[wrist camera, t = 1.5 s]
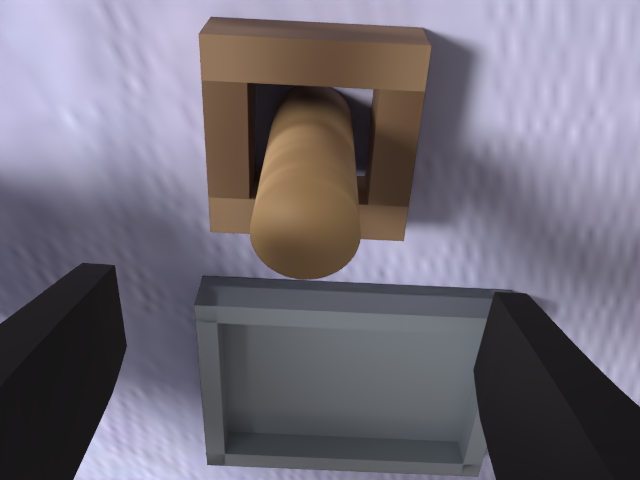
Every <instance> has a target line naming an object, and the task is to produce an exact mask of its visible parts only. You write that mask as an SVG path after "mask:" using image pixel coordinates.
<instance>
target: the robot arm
mask: <svg viewBox="0 0 640 480" xmlns="http://www.w3.org/2000/svg"><path fill="white" fill-rule="evenodd" d="M126 347H127V344H126V337H125V331H124V324H123V317H122V311H121V304H120V297H119V290H118V284H117V277H116V270H115V265H105V264H90V263H82V264H81V265H79V266H78V267H76V268H75V269H73V270H72V271H71V272H69V273H68V274H67V275H65V276H64V277H62V278H61V279H60V280H59V281H57V282H56V283H55V284H53V285H52V286H51V287H49V288H48V289H47V290H45V291H44V292H43V293H41V294H40V295H39V296H37V297H36V298H35V299H33V300H32V301H31V302H29V303H28V304H27V305H25V306H24V307H23V308H21V309H20V310H18V311H17V312H16V313H14V314H13V315H12V316H10V317H9V318H8V319H6V320H5V321H3V322H2V323H1V324H0V480H73V479H74V477H75V475H76V473H77V470H78V468H79V466H80V464H81V462H82V460H83V457H84V455H85V453H86V451H87V449H88V446H89V444H90V442H91V440H92V438H93V436H94V433H95V431H96V429H97V427H98V425H99V422H100V420H101V418H102V416H103V414H104V411H105V409H106V407H107V405H108V402H109V400H110V398H111V396H112V393H113V390H114V387H115V384H116V381H117V378H118V375H119V371H120V368H121V365H122V361H123V358H124V354H125V351H126ZM473 372H474V380H475V388H476V397H477V403H478V410H479V417H480V421H481V425H482V429H483V433H484V437H485V440H486V444H487V448H488V452H489V455H490V459H491V463H492V466H493V470H494V474H495V477H496V480H640V407H639V406H638V405H637V404H636V403H635V402H634V401H632V400H631V399H630V398H629V397H628V396H627V395H626V394H625V393H624V392H623V391H621V390H620V389H619V388H618V387H617V386H616V385H615V384H614V383H613V382H612V381H611V380H610V379H609V378H608V377H607V376H606V375H605V374H604V373H603V372H602V371H601V370H600V369H599V368H598V367H597V366H596V365H595V364H594V363H593V362H592V361H591V360H590V359H589V358H588V357H587V356H586V355H585V354H584V353H583V352H582V351H581V350H580V349H579V348H578V347H577V346H576V345H575V344H574V343H573V342H572V341H571V340H570V339H569V338H568V337H567V336H566V334H565V333H564V332H563V331H562V330H561V329H560V328H559V327H558V326H557V325H556V324H555V323H554V322H553V321H552V320H551V318H550V317H549V316H548V315H547V314H546V313H545V312H544V311H543V310H542V309H541V308H540V307H539V306H538V305H537V304H536V303H535V302H534V300H533V299H532V298H531V297H530V296H529V295H527V294H523V293H508V292H494V296H493V299H492V303H491V307H490V310H489V314H488V318H487V321H486V325H485V329H484V332H483V336H482V340H481V343H480V347H479V351H478V354H477V358H476V362H475V365H474V369H473Z"/></svg>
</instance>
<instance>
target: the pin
mask: <svg viewBox="0 0 640 480" xmlns="http://www.w3.org/2000/svg"><path fill="white" fill-rule="evenodd" d="M360 238H361V228H360V215H359V202H358V189H357V176H356V164H355V151H354V138H353V125H352V115H351V111H350V108H349V106H348V104H347V102H346V101H345V99H344V98H343V97H342V96H341V95H340V94H339V93H338V92H336V91H335V90H333V89H332V88H330V87H323V86H303V85H300V86H297V87H295V88H293V89H291V90H290V91H288V92H287V93H286V94H285V95H284V96H283V97H282V98H281V99H280V101H279V102H278V104H277V106H276V109H275V112H274V117H273V121H272V126H271V131H270V135H269V140H268V145H267V149H266V154H265V159H264V163H263V168H262V173H261V177H260V182H259V187H258V191H257V196H256V201H255V205H254V210H253V215H252V219H251V224H250V239H251V243H252V246H253V248H254V250H255V252H256V254H257V256H258V257H259V258H260V259H261V261H262V262H263V263H264V264H266V265H267V266H268V267H269V268H271V269H272V270H274V271H275V272H277V273H279V274H282V275H284V276H287V277H290V278H295V279H318V278H322V277H326V276H329V275H331V274H333V273H335V272H337V271H339V270H340V269H342V268H343V267H344V266H346V265H347V264H348V263H349V262H350V261H351V259H352V258H353V257H354V255H355V253H356V251H357V249H358V247H359V244H360Z"/></svg>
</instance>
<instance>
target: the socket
mask: <svg viewBox="0 0 640 480" xmlns="http://www.w3.org/2000/svg"><path fill="white" fill-rule="evenodd" d="M199 47H200V63H201V80H202V97H203V114H204V130H205V147H206V164H207V181H208V197H209V214H210V231H211V232H222V233H243V234H250V224H251V219H252V215H253V210H254V205H255V201H256V196H257V191H258V187H259V182H260V177H261V173H262V172H256V146H255V83H263V84H283V85H303V86H323V87H343V88H363V89H374V90H373V100H372V111H371V121H370V132H369V142H368V152H367V163H366V173H365V177H360V176H357V189H358V202H359V215H360V228H361V238H360V239H370V240H392V241H404V236H405V229H406V222H407V215H408V208H409V201H410V194H411V187H412V180H413V173H414V166H415V159H416V152H417V145H418V138H419V131H420V124H421V117H422V110H423V102H424V95H425V88H426V81H427V74H428V67H429V60H430V53H431V44H430V42H429V40H428V38H427V36H426V34H425V32H424V30H423V28H418V27H398V26H378V25H359V24H339V23H320V22H300V21H281V20H261V19H242V18H222V17H210V19H209V20H208V22H207V23H206V24H205V26H204V27H203V29H202V30H201V31H200V33H199Z"/></svg>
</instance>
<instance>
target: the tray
mask: <svg viewBox="0 0 640 480" xmlns="http://www.w3.org/2000/svg"><path fill="white" fill-rule="evenodd" d="M494 292H508V293H512V290H494V289H472V288H451V287H429V286H407V285H386V284H364V283H343V282H321V281H299V280H278V279H256V278H235V277H213V276H203V277H202V280H201V284H200V287H199V290H198V294H197V297H196V300H195V304H194V311H195V323H196V335H197V347H198V359H199V371H200V383H201V395H202V407H203V419H204V431H205V443H206V455H207V465H219V466H243V467H266V468H289V469H313V470H336V471H360V472H383V473H406V474H430V475H453V476H477V477H478V475H479V472H480V468H481V465H482V461H483V458H484V454H485V451H486V448H487V444H486V440H485V437H484V433H483V429H482V425H481V421H480V417H479V410H478V403H477V397H476V388H475V380H474V372H473V369H474V365H475V362H476V358H477V354H478V351H479V347H480V343H481V340H482V336H483V332H484V329H485V325H486V321H487V318H488V314H489V310H490V307H491V303H492V299H493V296H494Z"/></svg>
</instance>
